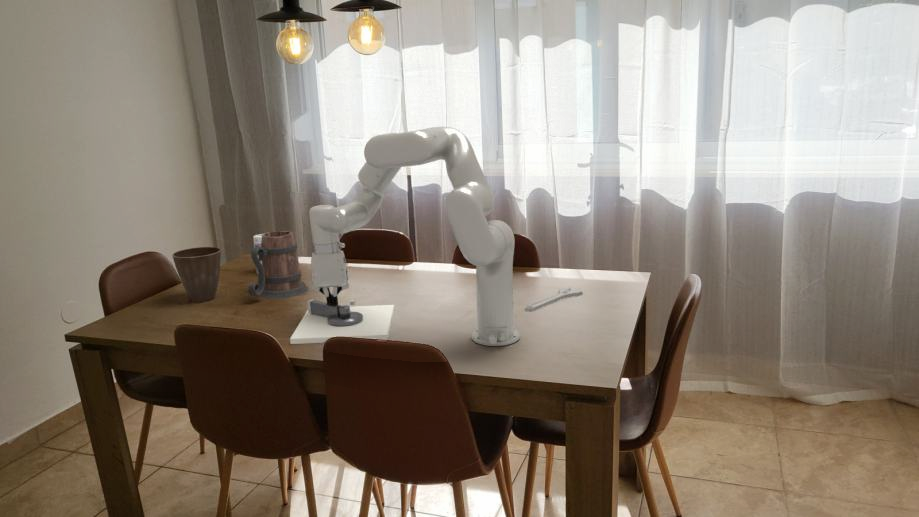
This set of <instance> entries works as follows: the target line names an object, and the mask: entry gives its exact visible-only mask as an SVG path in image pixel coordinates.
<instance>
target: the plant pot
mask: <svg viewBox="0 0 919 517" xmlns="http://www.w3.org/2000/svg"><path fill="white" fill-rule="evenodd" d="M221 252H222V250H221V248H220V247H216V246H202V247H201V246H200V247H192V248H191V247H190V248H186V249H181V250H178V251H175V252H173V253H172V255H171V256H172V259H173V263H174V266H175V269H176V272H177V274H178V276H179V280H180V282H181V284H182V285H183V288H184V290H185V292H186V293H187V295H188V297H189V299H190V300H191V302H195V303H200V302H201V303H202V302H207V301H210V300H211V301H212V300H214V299H215V297H216V295H217V294H216V293H217V290H218V286H219V279H220V274H221V273H220V271H221V259H222V258H221V254H222V253H221Z"/></svg>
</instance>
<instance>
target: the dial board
mask: <svg viewBox="0 0 919 517" xmlns="http://www.w3.org/2000/svg"><path fill="white" fill-rule="evenodd" d="M355 304H356V298H351V299H350V301H349V306H350V311H352V312H359V313H361V314H362V315H363V320H362V321H361V322H360V323H358V324H355V325H350V326H332V325H330V324H328V320H327V318H328V317H325V316H320V315H316V314H309V313H308V309H307V310H306V312H305V314H304V315H303V317H302V319H301V320H300V322H299V323H298V325H297V327H296V328H295V330H294V332H293V333H292V335H291V336H290V338H289V341H290V342H289V343H290V345H299V344H302V345H304V344H325V343H324V342H325V341H326V340H327V339H329V338H331V337H336V336H345V337H361V338H376V339H388V340H389V335H390V331H391V328H392V327H391V326H392V323H393V318H394V315H395V311H396V310H395V304H381V305H359V306H358V305H357V306H356V305H355Z"/></svg>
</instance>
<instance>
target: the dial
mask: <svg viewBox="0 0 919 517" xmlns="http://www.w3.org/2000/svg"><path fill="white" fill-rule="evenodd" d="M306 303H307V310H308V313H309V314H316V315H320V316H325V317H328V318H327V320H328V324H330V325H332V326H350V325H355V324H358V323H360V322H361V321H362V320H363V315H362V314H361V313H359V312H352V311H350V307H351V305H340V304H338V305H335V304H330V303H327V301H326V302H325V301H321V300H316V299H313V298H312V299H309V300H307V301H306Z"/></svg>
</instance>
